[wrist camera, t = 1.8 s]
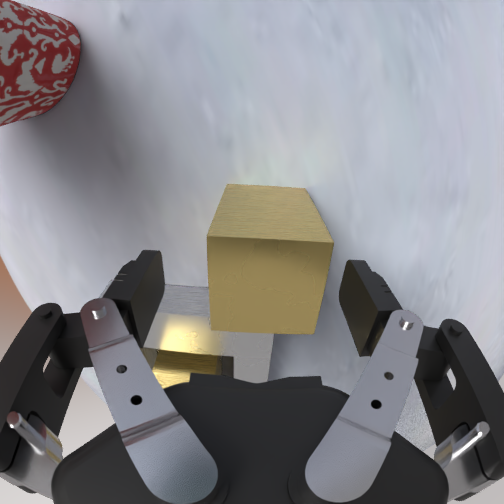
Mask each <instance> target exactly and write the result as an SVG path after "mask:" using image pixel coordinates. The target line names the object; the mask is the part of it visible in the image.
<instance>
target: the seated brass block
mask: <svg viewBox="0 0 504 504" xmlns="http://www.w3.org/2000/svg"><path fill="white" fill-rule="evenodd" d="M152 372H153V373H154V375H155V377H156V379H157V380H158V382H159V384H160V385H161V387H162V389H164V388H167V387H169V386H172V385H175V384H179V383H184V382H189V379H190V374H191V373H200V374H213V375H222V361H221V356H220V355H208V354H197V353H187V352H178V351H169V350H161V349H159V352H158V355H157V358H156V361H155V364H154V367H153V370H152Z"/></svg>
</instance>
